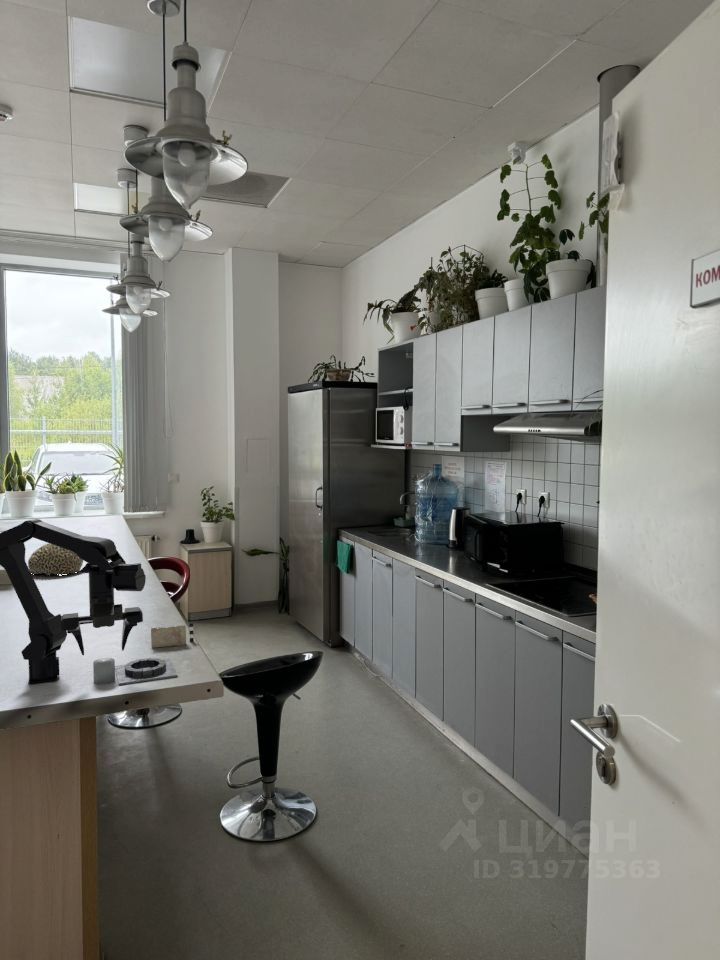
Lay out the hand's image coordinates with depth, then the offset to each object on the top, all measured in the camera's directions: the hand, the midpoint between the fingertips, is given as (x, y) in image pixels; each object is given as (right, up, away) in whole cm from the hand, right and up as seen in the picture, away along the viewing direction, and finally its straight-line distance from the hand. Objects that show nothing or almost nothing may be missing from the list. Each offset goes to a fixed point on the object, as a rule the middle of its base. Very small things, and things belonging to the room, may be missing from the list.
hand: (103, 652), depth 166 cm
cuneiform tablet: (+9, -6, +29) cm, 31 cm away
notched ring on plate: (+8, -7, +6) cm, 12 cm away
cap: (0, -7, 0) cm, 7 cm away
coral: (-74, 0, +137) cm, 156 cm away
